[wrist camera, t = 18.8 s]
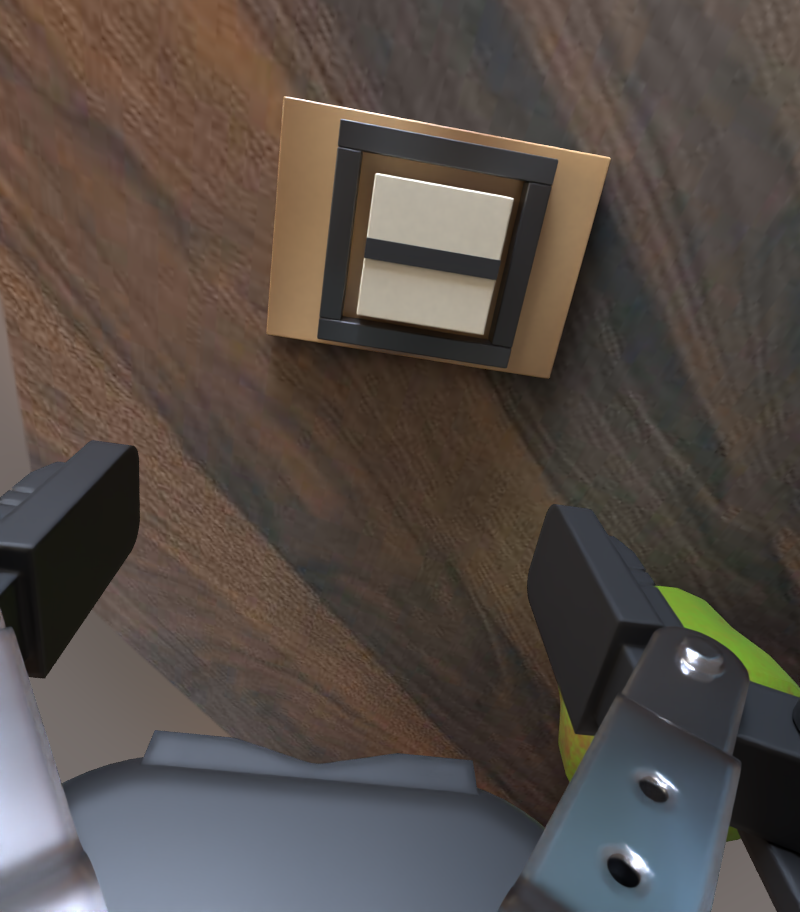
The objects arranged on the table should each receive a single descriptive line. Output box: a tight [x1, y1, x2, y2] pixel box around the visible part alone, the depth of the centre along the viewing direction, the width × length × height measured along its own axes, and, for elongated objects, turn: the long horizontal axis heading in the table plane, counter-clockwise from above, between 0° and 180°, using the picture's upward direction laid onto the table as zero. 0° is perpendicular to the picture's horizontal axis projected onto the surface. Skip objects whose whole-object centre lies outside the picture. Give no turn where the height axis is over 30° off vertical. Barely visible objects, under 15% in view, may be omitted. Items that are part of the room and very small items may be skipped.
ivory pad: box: [357, 173, 514, 335], centre depth 26 cm, size 6×6×3 cm
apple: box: [558, 586, 800, 842], centre depth 33 cm, size 12×12×11 cm
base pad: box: [267, 96, 611, 379], centre depth 27 cm, size 14×10×2 cm
